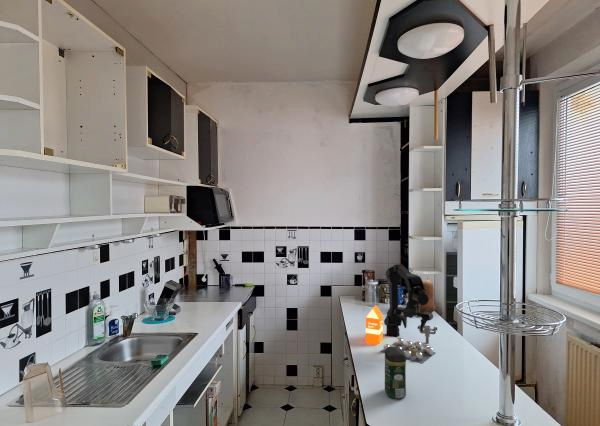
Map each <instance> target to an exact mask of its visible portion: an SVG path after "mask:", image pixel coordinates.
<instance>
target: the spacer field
mask: <svg viewBox="0 0 600 426" xmlns="http://www.w3.org/2000/svg"><path fill="white" fill-rule="evenodd" d="M396 338H397V345H398V346H396V347H398V348H400V349H401V350H402V347H401V346H403V344H404V338H402V337H396ZM405 342H406V344H405V345H406V349H408V350H406V351H405V355H406V359H408V360H407V361H410V359H411V351H409V347H413V341H410V340H407V341H405ZM390 345H391V344H386V343H385V344H383V349H384V353H383V354H385V349H386V348H388V347H390ZM422 345H423V343H422V342H421V341H416V342H415V347H416V348H418V350H421V349H423V353H425V354H427V355H428V356H432V357H433V356H434V355H433V352H434V348H433V346H432V347H431V346H430V345H428V344H424V345H423V347H422ZM416 360H417V361H422V352H416Z"/></svg>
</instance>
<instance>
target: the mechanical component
mask: <svg viewBox="0 0 600 426" xmlns="http://www.w3.org/2000/svg"><path fill="white" fill-rule="evenodd" d="M417 330H418V331H419V333H420V334H422V335H423V334H424V337H425V345H428V344H430V343H429V341H430V338H429V337H430V336H431V335H436V332H437V331H438V327H436V326H433V328H431V326H430V325H425V326H424V328H423V331H422V332H421V324H419V325H417Z"/></svg>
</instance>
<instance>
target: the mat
mask: <svg viewBox="0 0 600 426" xmlns="http://www.w3.org/2000/svg"><path fill="white" fill-rule="evenodd" d="M389 345H390V347H396V346H398V345H397V342H396V341H395V342H393V343H391V344H389ZM401 347H402V351H403V352H404V353H405V351H406V350H408V349H406V344H404V343H403V346H401ZM414 347H415V348H416V346H414ZM418 352H422V361H417V360H416V355H411V359H410V360H408V359H406V361H409V362H414V363H418V364H419V365H420V364H422V365H423V364H424V363H425V362H426V361H429V359H430V358H431V357H433V356H435V354H437V352H436V351H433V356H428V355H427V354H425V353H423V348H421V350H418ZM379 353H383V354H385V353H384V348H383V349H382V350H380V351H379Z"/></svg>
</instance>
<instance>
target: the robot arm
mask: <svg viewBox="0 0 600 426" xmlns="http://www.w3.org/2000/svg"><path fill="white" fill-rule="evenodd" d="M385 278H386V280H387V282H388V283H389V308H388V310H387V311H386V316H385V319H383V325H385V326H386V333H385V334H384V336H385V337H390V338H399V336H400V335H401V334H400V328H399V327H401V326H402V325H403V327H404V329H407V326H408V325H407V323H408V321H407V320H408V318H409V319H412V318H414V316H415V317H419V318H420V317H421V319H420V325H421V332H422V331H423V330H424V326H426V324H427V322H429V321H432V320H433V318H434V314H433V312H432V313H430V312H424V313H419V312H420V309H419V304H420V305H426V304H427V303H428V300H429V298H428V296H427V295H426V294H425V291H424V290H425V288H424V287H425V286H424V284H423V282H422V280H423V279H422V277H421V276H419V275H417V274H415V273H412V272H410V270H408V269H407V268H406V267H405V265H404V264H402V263H401V264H400V263H399V264H394V265H393V266H391V267H389V268H388V269H386V271H385ZM402 279H404V284H405V285H406V290H407V302H406V305H405V307H402V306H399V283H400V281H401V280H402Z"/></svg>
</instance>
